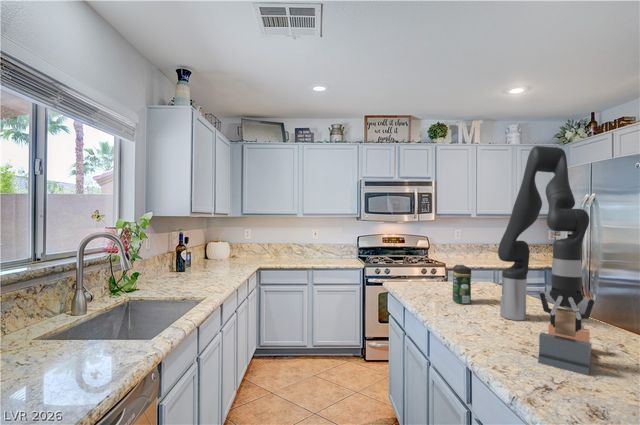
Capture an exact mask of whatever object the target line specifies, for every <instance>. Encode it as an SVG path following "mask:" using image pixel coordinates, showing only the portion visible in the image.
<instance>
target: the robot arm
mask: <svg viewBox="0 0 640 425" xmlns="http://www.w3.org/2000/svg"><path fill="white" fill-rule="evenodd" d="M568 167H569V166H568V161H567V155H566V152H565V150H564V149H563V148H560V147H556V146H543V145H541V146H540V145H535V146H533V147H532V148H531V150H530V152H529V153H528V157H527V160H526V165H525V167H524V168H525V169H524V172H523V173H524V174H523V175H522V176H523V177H522V181H521V184H520V187H519V190H518V193H517V196H516V198H515V201H514V204H513V207H512V211H511V214H510V218H509V221H508V223H507V226H506V229H505V231H504V233H503V236H502V237H501V240H500V242H499V245H498V250H497V254H498V259H499V260H500V261H502V262H509V263H513V265H511V266H510V267H507V268H504V269H503V270H502V273H501V275H502V276H501V279H502V280H501V293H500V298H499V299H500V306H499V307H500V309H499V313H500V315H499V317H501V318H505V319H508V320H512V321H525V320H526V319H527V277H528V273H529V263H530V262H529V261H530V247H529V244H528V243H527V242H526V241H525V240H517V239H518V238H519V236H520V235H522V233H523V232H525V231H526V230H528V229H529V228H530V227H531V226H532V225H534V223H535V222H536V221H537V220H538V217H539V215H540V213H541V210H542V207H543V200H542V197H541V194H540V192H539V190H538V187H537V185H536V175H537V172H541V173H552V174H554V175H553V177H552V178H551V179H550V180H549V182H548V183H547V185H546V187H545V196H546V200H547V203H548V212H547V216H546V226H548V228H549V229H550V230H551V231H554V232H571V234H570V235H569V237H568V236H567V237H566V238H559V239H556V240H554V241H553V244H552V262H551V290H550V291H546V292H545V291H541V292H540V293H539V298H540V302H541V305H542V309H543V310H542V311H544V312H545V313H548V314H549V315H550V317H549V318H550V321H549V323H551V325H553V327H555V310H557V309H558V308H560V307H561V308H563V307H564V308H565V307H566V308H569V309H571V310H573V311H574V313H576V326H575V331H576V332H578V330H581V325H582V320H585V319H586V320H588V319H590V315H591V314H592V310H593V307H594V304H595V299H594V298H589V297H586V296H584V294H583V293H582V288H583V287H582V284H583V280H582V279H583V265H582V246H583V240H584V238H585V234H586V232H587V230H588V228H589V224H590V216H589V214H588V212H587V211H586V210H585V209H582V208H574V207H575V205H576V200H575V197H574V194H573V191H572V188H571V186H570V181H569V180H570V179H569V168H568ZM549 296H550V298H552V301H554V304H553V306H552V308H550V307H549V302H548V300H549ZM582 301H583V302H584V304H585V306H586V308H585V311H584V313H581V311H580V308H579V304H580V303H581V302H582Z"/></svg>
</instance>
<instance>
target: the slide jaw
mask: <svg viewBox="0 0 640 425" xmlns="http://www.w3.org/2000/svg"><path fill="white" fill-rule="evenodd" d="M590 333H591V330H590V329H589V328H585V325H584V324H581V330H578V332H576V336H575V337H572V336H567V335H562V334H557V333H555V327H553V325H551V323H550V322H548V333H547V334H551V335H556V336H561V337H566V338H570V339H575V340H580V341H585V342H590V336H591V335H590Z"/></svg>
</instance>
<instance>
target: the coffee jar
mask: <svg viewBox="0 0 640 425" xmlns="http://www.w3.org/2000/svg"><path fill="white" fill-rule="evenodd" d="M471 282H472V269H471V268H470V267H468V266H467V265H464V264H455V265H454V266H453V267H452V300H453V302H455V303H456V304H461V305H468V304H471V303H472V293H471V292H472V288H471V287H472V283H471Z"/></svg>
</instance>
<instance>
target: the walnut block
mask: <svg viewBox="0 0 640 425" xmlns="http://www.w3.org/2000/svg"><path fill="white" fill-rule="evenodd" d="M575 326H576V313H574V311H573V309H567V308H563V307H561V308H560V307H558V309H557V310H555V333H557V334H562V335H567V336H572V337H575V336H576V331H575Z"/></svg>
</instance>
